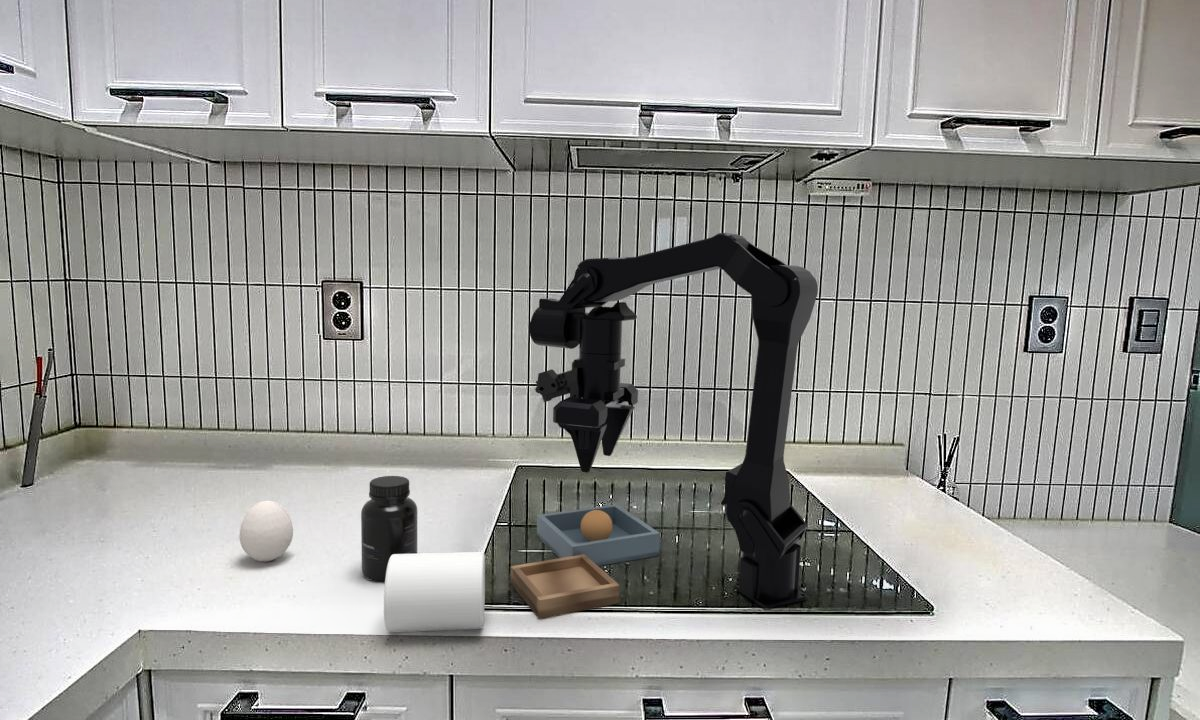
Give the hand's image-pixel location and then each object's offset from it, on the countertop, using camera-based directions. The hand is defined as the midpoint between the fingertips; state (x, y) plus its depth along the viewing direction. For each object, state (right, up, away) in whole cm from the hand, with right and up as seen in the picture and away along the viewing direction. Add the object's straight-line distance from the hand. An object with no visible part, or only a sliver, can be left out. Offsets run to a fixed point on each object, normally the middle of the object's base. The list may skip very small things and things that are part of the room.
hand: (596, 463), depth 100 cm
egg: (-43, -12, -6) cm, 45 cm away
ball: (0, -9, +1) cm, 9 cm away
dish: (0, -12, +2) cm, 12 cm away
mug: (-18, -15, -20) cm, 30 cm away
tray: (-4, -14, -13) cm, 20 cm away
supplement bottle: (-26, -13, -8) cm, 30 cm away
